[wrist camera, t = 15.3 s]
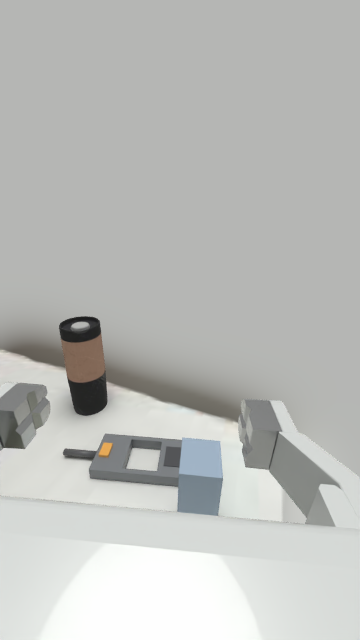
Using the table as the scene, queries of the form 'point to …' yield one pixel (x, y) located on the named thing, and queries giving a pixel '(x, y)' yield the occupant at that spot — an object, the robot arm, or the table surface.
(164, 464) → the power strip
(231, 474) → the table surface
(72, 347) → the travel mug
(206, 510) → the blue rectangular block
